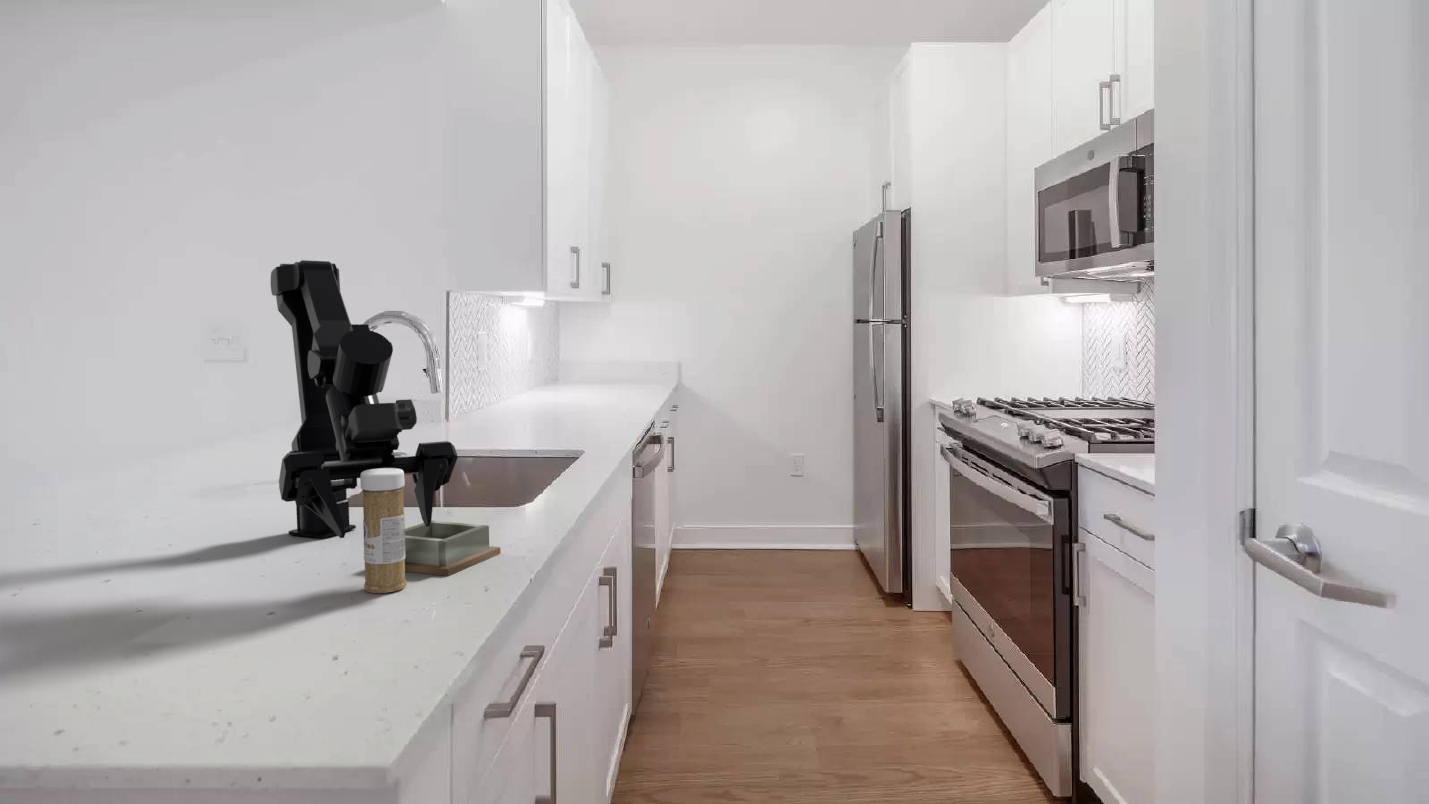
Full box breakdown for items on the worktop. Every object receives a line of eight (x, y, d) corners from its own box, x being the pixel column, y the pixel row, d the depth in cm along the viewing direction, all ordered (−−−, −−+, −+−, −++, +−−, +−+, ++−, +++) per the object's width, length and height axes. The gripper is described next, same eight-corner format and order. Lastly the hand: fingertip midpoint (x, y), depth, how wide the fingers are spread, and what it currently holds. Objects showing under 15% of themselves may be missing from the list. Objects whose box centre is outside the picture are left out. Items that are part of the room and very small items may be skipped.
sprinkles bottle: (357, 588, 98) (353, 470, 97) (397, 580, 101) (393, 465, 100) (374, 597, 94) (370, 475, 93) (414, 588, 98) (411, 470, 96)
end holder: (372, 567, 106) (371, 536, 106) (429, 546, 117) (429, 518, 116) (448, 576, 103) (447, 544, 102) (500, 553, 113) (499, 524, 113)
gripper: (278, 379, 94) (303, 496, 86) (450, 374, 104) (486, 477, 96) (269, 444, 101) (291, 558, 93) (431, 433, 112) (463, 534, 103)
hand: (387, 530), depth 96 cm, fingers open, 9 cm apart
